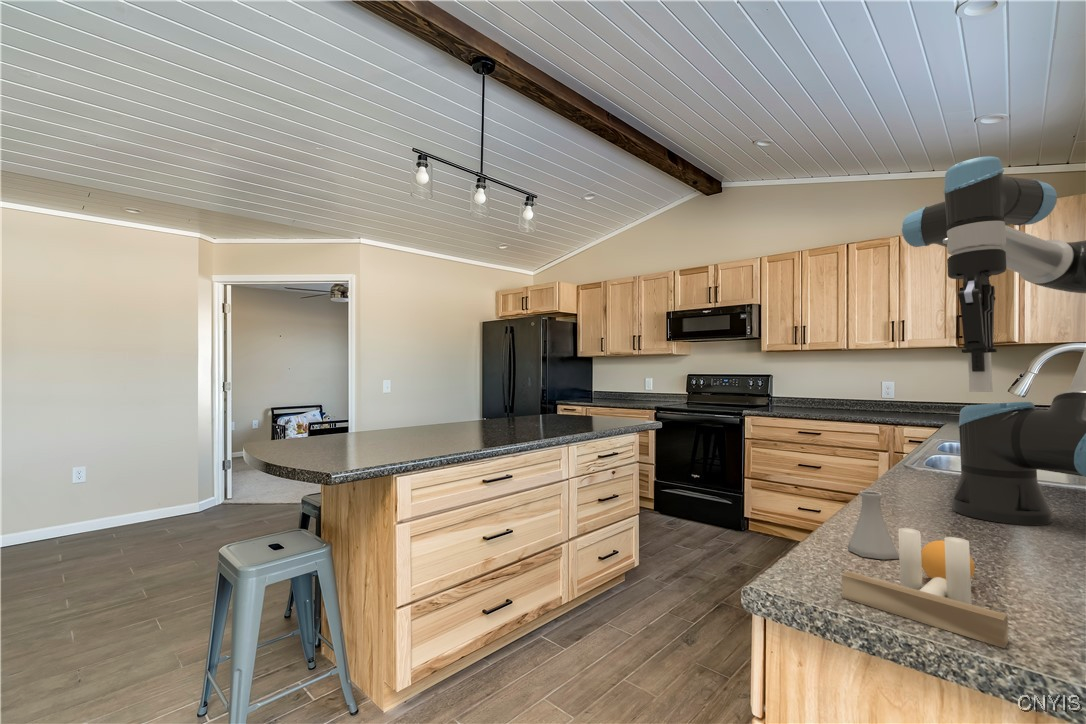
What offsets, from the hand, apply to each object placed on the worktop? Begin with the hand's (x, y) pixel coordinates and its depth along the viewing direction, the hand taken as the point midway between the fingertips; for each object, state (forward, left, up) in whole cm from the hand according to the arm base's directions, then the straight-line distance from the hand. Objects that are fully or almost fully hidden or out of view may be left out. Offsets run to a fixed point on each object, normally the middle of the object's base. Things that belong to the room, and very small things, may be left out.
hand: (980, 391), depth 84 cm
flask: (+16, -12, -27) cm, 33 cm away
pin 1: (+30, -2, -26) cm, 40 cm away
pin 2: (+30, +3, -26) cm, 40 cm away
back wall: (+36, 0, -26) cm, 45 cm away
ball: (+22, 0, -23) cm, 32 cm away
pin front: (+27, 0, -25) cm, 37 cm away
